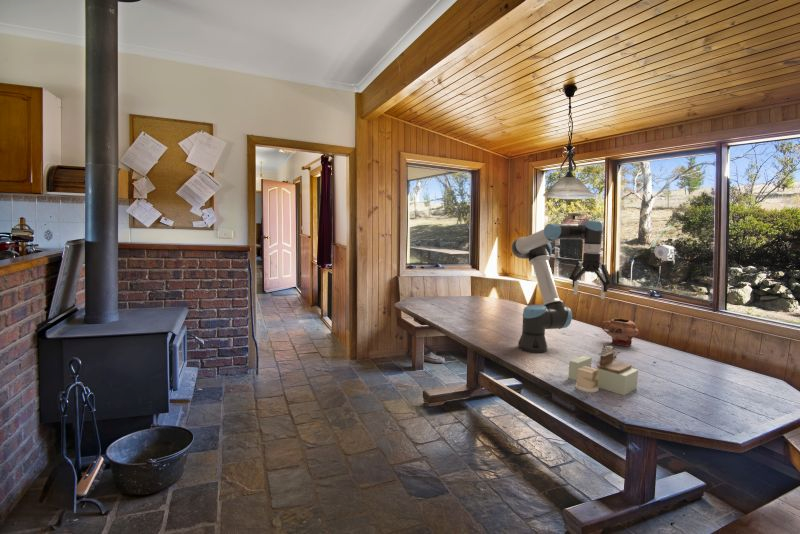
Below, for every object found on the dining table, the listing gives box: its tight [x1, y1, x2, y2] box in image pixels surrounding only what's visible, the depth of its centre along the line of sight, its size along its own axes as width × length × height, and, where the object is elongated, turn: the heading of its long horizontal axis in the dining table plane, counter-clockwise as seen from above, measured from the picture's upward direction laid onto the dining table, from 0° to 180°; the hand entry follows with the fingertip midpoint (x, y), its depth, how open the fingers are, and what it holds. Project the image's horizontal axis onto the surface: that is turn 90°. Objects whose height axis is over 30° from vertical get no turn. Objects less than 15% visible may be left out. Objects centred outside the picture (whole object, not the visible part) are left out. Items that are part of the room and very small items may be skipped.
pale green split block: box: [567, 355, 639, 396], centre depth 192 cm, size 24×12×8 cm, turn 41°
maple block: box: [576, 366, 599, 389], centre depth 186 cm, size 6×6×7 cm
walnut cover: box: [596, 352, 632, 373], centre depth 188 cm, size 9×12×5 cm
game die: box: [598, 343, 620, 361], centre depth 223 cm, size 9×8×10 cm
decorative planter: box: [600, 318, 640, 347], centre depth 254 cm, size 20×12×14 cm, turn 53°
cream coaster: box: [575, 382, 600, 394], centre depth 186 cm, size 9×9×1 cm
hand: (588, 296), depth 218 cm, fingers open, 13 cm apart
